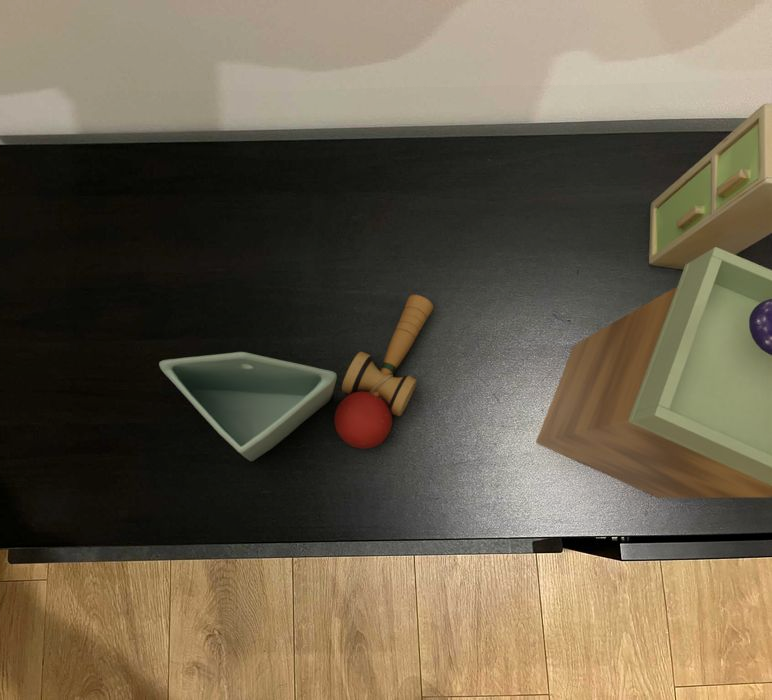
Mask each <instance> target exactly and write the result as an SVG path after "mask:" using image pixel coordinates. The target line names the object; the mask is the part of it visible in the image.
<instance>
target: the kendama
mask: <svg viewBox="0 0 772 700" xmlns="http://www.w3.org/2000/svg"><path fill="white" fill-rule="evenodd" d="M403 308H404V309H403V310H402V314H401V315H400V318H399V320H398V323H397V325H396V328H395V330H394V332H393V334H392V337H391V339H390V342H389V344H388V347H387V350H386V353H385V356H384V358H383V361H382V362H383V363H382V366H381V368H380V370H379V368H378V367H377V366H376V365H375V363H374V361H373V358H372V356H371V355H370V354H368V353H366V352H364V351H359V352H358V353H357V354H356V355H355V356H354V358H353V360H352V361H351V363H350V365H349V366H348V369H347V371H346V373H345V376H344V378H343V380H342V385H341V391H342V392H343V393H345V394H347V396H346V397H344V398H343V399H342V400H341V401H340V402H339V403H338V405H337V407H336V410H335V413H334V427H335V430H336V433H337V435H338V437H340V439H341V440H342V441H343V442H345V443H346V445H347V444H348V445H349V446H351V447H352V448H357V449H361V450H362V449H363V450H364V449H365V450H366V449H372V448H374V447H377V446H379V445H380V444H382V443H383V442H384V441H385V440H386V438H387V437H388V435H389V434H390V432H391V428H392V426H393V425H392V424H393V417H392V416H393V415H394V416H397V417H400V416H402V414H403V413H404V411H405V410H406V407H407V406H408V403H409V401H410V399H411V397H412V395H413V394H414V390H415V388H416V386H417V383H418V380H417V379H416V378H415V377H413V376H411V375H406V376H405V375H404V376H401V377H400V376H399V377H395V376H394V375H393V374H394V373H395V372H396V370H397V369H398V368H399V366H400V365H401V363H402V362H403V360H404V358H405V357H406V355H407V354H408V353H409V351H410V349H411V347H412V345H413V344H414V342H415V340H416V338H417V337H418V335H419V333H420V331H421V330H422V328H423V326H424V325H425V323H426V321H427V319H428V318H429V316H430V314H431V313H432V311H433V309H434V305H433V303H432V302H431V300H430V299H428V298H426V297H424V296H421V295H419V294H410V295H409V296H408V298H407V300H406V303H405V306H404V307H403Z"/></svg>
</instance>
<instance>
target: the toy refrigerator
mask: <svg viewBox="0 0 772 700" xmlns="http://www.w3.org/2000/svg"><path fill="white" fill-rule="evenodd" d="M649 210H650V215H649V247H648V248H649V249H648V264H649V265H650V266H653V267H659V268H668V269H675V270H682V271H683V270H684V267H685V265H686V264H688V263H690V262H691V261H693V260H695V259H696V258H698V257H700V256H701V255H703V254H704V253H706V252H708V251H709V250H711V249H713V248H714V247H717V248H720V249H722V250H724V251H727V252H729V253H731V254H734V255H737V254H739V253H740V252H742V251H744V250H746V249H748V248H749V247H750V246H752V245H754V244H756V243H758V242H759V241H761V240H763V239H765V238H766V237H767V236H770V235H772V103H764V104H762V105H761V106H759V108H757V109H756V110H755V111H754V112H753V113H751V115H750V116H748V117H747V118H746V119H745V120H744V121H743V122H741V123H740V124H739V125H738V126H737V127H736V128H735V129H733V130H732V131H731V132H730V133H729V134H728V135H727V136H725V138H723V140H721V141H720V142H719V143H717V145H716V146H715V147H714V148H712V149H711V150H710V151H708V152H707V154H705V155H704V156H703V157H702V158H700V160H699V161H697V162H696V163H695V164H694V165H693V166H692V167H690V168H689V169H688V170H687V171H686V172H685V173H684V174H682V175H681V176H680V177H679V178H678V179H677V180H676V181H674V182H673V183H672V184H671V185H670V186H669V187H668V188H667V189H665V190H664V191H663V192H662V193H661V194H659V196H658V197H657V198H655V199H654V200H653V201H652V202H651V204H650V209H649Z"/></svg>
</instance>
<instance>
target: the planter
mask: <svg viewBox="0 0 772 700" xmlns="http://www.w3.org/2000/svg"><path fill="white" fill-rule="evenodd" d="M158 366H159V368H160V370H161V371H162V372H163V374H164V375H165V376H166V377H167V378H168V379H169V380H170V381H171V382H172V383H173V384H174V386H175V387H176V388H177V389H178V390H179V391H180V392H181V393H182V394H183V396H184V397H185V398H186V399H187V400H188V401H189V402H190V403H191V404H192V405H193V407H194V408H195V409H196V410H197V411H198V412H199V414H200V415H201V416H202V417H203V418H204V419H205V420H206V421H207V422H208V423H209V425H210V426H212V428H213V429H214V430H215V431H216V432H217V434H219V435H220V436H221V437H222V438H223V439H224V440H225V441H226V442H227V443H228V444H229V445H231V447H233V449H234V450H236V451H237V453H239V454H240V455H241V456H243V457H244V458H245V459H247V460H248V462H254V461H255V460H257V459H258V458H260V457H261V456H263V455H264V454H266V453H267V452H269V451H270V450H272V449H273V448H275V447H276V446H277V445H278V444H279V443H281V442H282V441H283V440H284V439H285V438H287V437H288V436H289V435H290V434H292V432H294V431H295V430H296V429H297V428H298V427H299V426H301V425H302V424H304V422H305V421H306V420H307V419H309V418H310V417H311V416H313V415H314V414H315V413H316V412H318V411H319V410H320V409H322V408H323V407H324V406H326V405H327V404H328V403H329V402H330V401H331V399H332V397H333V393H334V391H335V386H336V382H337V379H338V377H337V376H338V375H337V373H336V372H335V371H332V370H329V369H323V368H319V367H315V366H311V365H307V364H301V363H296V362H293V361H287V360H282V359H278V358H273V357H269V356H265V355H264V356H263V355H259V354H254V353H251V352H247V351H236V352H227V353H218V354H208V355H199V356H197V355H196V356H188V357H179V358H168V359H163V360H161V361H159V363H158Z"/></svg>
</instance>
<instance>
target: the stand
mask: <svg viewBox="0 0 772 700" xmlns="http://www.w3.org/2000/svg"><path fill="white" fill-rule="evenodd" d="M676 289H677V286H675V287H673V288H671V289H670V290H668V291H666V292H664V293H663V294H661V295H659V296H658V297H656V298H654V299H652V300H650V301H648V302H647V303H646V304H644V305H642V306H640V307H638V308H637V309H635V310H633V311H631V312H630V313H628V314H626V315H624V316H622V317H621V318H619V319H617V320H616V321H613V322H612V323H611V324H610V323H609V325H607V326H605V327H603V328H602V329H600V330H598V331H596V332H595V333H593V334H591V335H589V336H587V337H586V338H584V339H582V340H581V341H579V342H576V343H575V344H574V345H573V347H572V349H571V351H570V354H569V357H568V360H567V362H566V365H565V367H564V369H563V372H562V375H561V376H560V380H559V382H558V385H557V386H556V387H557V388H556V390H555V393H554V395H553V398H552V400H551V403H550V406H549V408H548V410H547V413H546V415H545V418H544V420H543V423H542V426H541V428H540V431H539V433H538V436H537V438H536V441H535V443H536V444H538V445H540V446H543V447H545V448H547V449H549V450H552V451H553V452H556V453H558V454H559V455H563V456H564V457H567V458H569V459H570V460H571V459H572V460H573V461H576V462H578V463H580V464H582V465H584V466H587V467H589V468H591V469H593V470H595V471H597V472H600V473H602V474H605V475H606V476H608V477H611V478H613V479H615V480H617V481H620V482H621V483H624V484H626V485H628V486H631V487H633V488H635V489H637V490H639V491H642V492H643V493H646V494H648V495H650V496H653V497H655V498H657V499H694V498H695V499H698V498H699V499H700V498H701V499H705V498H708V499H711V498H713V499H714V498H715V499H718V498H719V499H720V498H721V499H722V498H723V499H724V498H729V499H730V498H731V499H732V498H738V499H739V498H772V486H771V485H768V484H766V483H764V482H762V481H759V480H757V479H755V478H753V477H750V476H748V475H746V474H744V473H741V472H739V471H737V470H735V469H733V468H730V467H728V466H726V465H724V464H721V463H719V462H717V461H715V460H712V459H710V458H708V457H706V456H703V455H701V454H699V453H697V452H694V451H692V450H690V449H688V448H685V447H683V446H681V445H679V444H676V443H674V442H672V441H670V440H668V439H665V438H663V437H661V436H659V435H656V434H654V433H652V432H650V431H647V430H645V429H643V428H641V427H638V426H636V425H634V424H632V423H629V422H628V420H629V417H630V414H631V412H632V409H633V406H634V404H635V401H636V398H637V395H638V393H639V390H640V387H641V384H642V382H643V379H644V376H645V374H646V371H647V368H648V365H649V363H650V360H651V357H652V354H653V352H654V349H655V346H656V344H657V341H658V338H659V335H660V333H661V330H662V327H663V324H664V322H665V319H666V316H667V314H668V311H669V308H670V305H671V303H672V300H673V297H674V294H675V292H676Z"/></svg>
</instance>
